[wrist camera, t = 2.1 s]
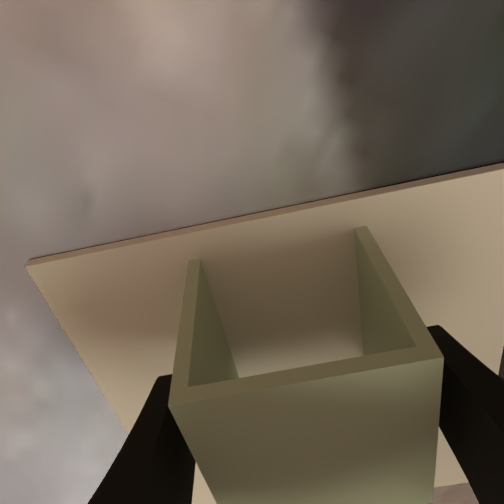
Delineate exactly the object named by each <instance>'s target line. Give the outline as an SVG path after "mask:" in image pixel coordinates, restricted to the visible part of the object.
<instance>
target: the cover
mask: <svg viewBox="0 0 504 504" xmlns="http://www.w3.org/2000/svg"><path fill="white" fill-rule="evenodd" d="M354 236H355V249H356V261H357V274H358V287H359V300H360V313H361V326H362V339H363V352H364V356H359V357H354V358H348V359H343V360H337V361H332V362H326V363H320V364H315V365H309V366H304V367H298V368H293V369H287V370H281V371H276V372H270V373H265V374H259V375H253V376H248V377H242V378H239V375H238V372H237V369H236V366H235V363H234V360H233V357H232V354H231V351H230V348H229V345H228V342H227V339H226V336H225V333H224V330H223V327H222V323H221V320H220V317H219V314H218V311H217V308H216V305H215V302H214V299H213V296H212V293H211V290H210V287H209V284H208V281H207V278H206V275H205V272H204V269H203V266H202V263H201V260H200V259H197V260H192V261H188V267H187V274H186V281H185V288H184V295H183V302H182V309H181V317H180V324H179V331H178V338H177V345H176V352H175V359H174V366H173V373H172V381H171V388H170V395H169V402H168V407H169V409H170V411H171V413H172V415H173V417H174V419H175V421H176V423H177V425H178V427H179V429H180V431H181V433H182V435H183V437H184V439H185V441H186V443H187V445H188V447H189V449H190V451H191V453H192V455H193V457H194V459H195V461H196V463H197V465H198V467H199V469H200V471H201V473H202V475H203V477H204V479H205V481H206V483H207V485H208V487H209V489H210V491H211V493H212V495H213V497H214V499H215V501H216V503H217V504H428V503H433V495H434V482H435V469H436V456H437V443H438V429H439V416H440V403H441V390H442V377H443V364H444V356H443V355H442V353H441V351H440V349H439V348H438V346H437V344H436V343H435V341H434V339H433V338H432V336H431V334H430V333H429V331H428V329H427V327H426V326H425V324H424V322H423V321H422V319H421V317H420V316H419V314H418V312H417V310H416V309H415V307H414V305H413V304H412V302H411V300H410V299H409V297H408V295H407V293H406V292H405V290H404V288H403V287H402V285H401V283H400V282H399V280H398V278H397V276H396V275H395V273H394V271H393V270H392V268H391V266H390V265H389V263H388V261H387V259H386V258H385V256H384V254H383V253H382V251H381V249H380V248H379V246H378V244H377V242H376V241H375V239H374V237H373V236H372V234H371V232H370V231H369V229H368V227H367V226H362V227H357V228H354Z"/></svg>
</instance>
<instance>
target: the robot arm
mask: <svg viewBox="0 0 504 504" xmlns="http://www.w3.org/2000/svg"><path fill="white" fill-rule="evenodd" d="M427 329H428V331H429V333H430V334H431V336H432V338H433V339H434V341H435V343H436V344H437V346H438V348H439V349H440V351H441V353H442V355H443V356H444V364H443V377H442V390H441V403H440V416H439V428H440V429H441V431H442V433H443V435H444V437H445V439H446V441H447V442H448V444H449V446H450V448H451V450H452V452H453V454H454V455H455V457H456V459H457V461H458V463H459V465H460V467H461V468H462V470H463V472H464V474H465V476H466V478H467V480H468V481H469V483H470V485H471V487H472V489H473V491H474V494H475V496H476V498H477V500H478V502H479V504H504V380H503V379H502V378H501V377H499V376H498V375H497V374H496V373H494V372H493V371H492V370H491V369H489V368H488V367H487V366H486V365H485V364H483V363H482V362H481V361H480V360H479V359H477V358H476V357H475V356H474V355H473V354H472V353H471V352H469V351H468V350H467V349H466V348H465V347H464V346H463V345H461V344H460V343H459V342H458V341H457V340H456V339H455V338H454V337H452V336H451V335H450V334H449V333H448V332H447V331H446V330H445V329H444V328H443V327H441V326H440V325H434V326H428V327H427ZM171 381H172V374H169V375H163V376H158V378H157V379H156V381H155V383H154V385H153V387H152V389H151V391H150V394H149V396H148V398H147V400H146V402H145V404H144V406H143V408H142V410H141V412H140V414H139V416H138V418H137V420H136V422H135V424H134V426H133V428H132V429H131V431H130V433H129V435H128V437H127V439H126V441H125V443H124V445H123V446H122V448H121V450H120V452H119V453H118V455H117V457H116V459H115V460H114V462H113V464H112V465H111V467H110V469H109V470H108V472H107V474H106V476H105V477H104V479H103V480H102V482H101V484H100V485H99V487H98V488H97V490H96V492H95V493H94V495H93V496H92V498H91V499H90V501H89V502H88V504H192V495H193V485H194V475H195V464H196V461H195V459H194V457H193V455H192V453H191V451H190V449H189V447H188V445H187V443H186V441H185V439H184V437H183V435H182V433H181V431H180V429H179V427H178V425H177V423H176V421H175V419H174V417H173V415H172V413H171V411H170V409H169V407H168V402H169V395H170V388H171Z"/></svg>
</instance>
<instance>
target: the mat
mask: <svg viewBox="0 0 504 504" xmlns="http://www.w3.org/2000/svg"><path fill="white" fill-rule="evenodd" d="M362 226H367V227H368V229H369V231H370V232H371V234H372V236H373V237H374V239H375V241H376V242H377V244H378V246H379V248H380V249H381V251H382V253H383V254H384V256H385V258H386V259H387V261H388V263H389V265H390V266H391V268H392V270H393V271H394V273H395V275H396V276H397V278H398V280H399V282H400V283H401V285H402V287H403V288H404V290H405V292H406V293H407V295H408V297H409V299H410V300H411V302H412V304H413V305H414V307H415V309H416V310H417V312H418V314H419V316H420V317H421V319H422V321H423V322H424V324H425V326H426V327H428V326H434V325H440V326H441V327H443V328H444V329H445V330H446V331H447V332H448V333H449V334H450V335H451V336H452V337H454V338H455V339H456V340H457V341H458V342H459V343H460V344H461V345H463V346H464V347H465V348H466V349H467V350H468V351H469V352H471V353H472V354H473V355H474V356H475V357H476V358H477V359H479V360H480V361H481V362H482V363H483V364H485V365H486V366H487V367H488V368H489V369H491V370H492V371H493V372H494V373H496V374H497V375H498V373H499V368H500V362H501V357H502V351H503V346H504V163H499V164H494V165H490V166H485V167H480V168H475V169H470V170H465V171H460V172H455V173H451V174H446V175H441V176H436V177H431V178H426V179H421V180H416V181H412V182H407V183H402V184H397V185H392V186H387V187H382V188H377V189H373V190H368V191H363V192H358V193H353V194H348V195H343V196H338V197H334V198H329V199H324V200H319V201H314V202H309V203H304V204H300V205H295V206H290V207H285V208H280V209H275V210H270V211H265V212H261V213H256V214H251V215H246V216H241V217H236V218H231V219H226V220H222V221H217V222H212V223H207V224H202V225H197V226H192V227H187V228H183V229H178V230H173V231H168V232H163V233H158V234H153V235H148V236H144V237H139V238H134V239H129V240H124V241H119V242H114V243H109V244H105V245H100V246H95V247H90V248H85V249H80V250H75V251H70V252H66V253H61V254H56V255H51V256H46V257H41V258H36V259H32V260H29V262H28V263H27V264H26V266H25V268H26V270H27V271H28V273H29V275H30V276H31V278H32V279H33V281H34V283H35V284H36V286H37V288H38V289H39V291H40V292H41V294H42V296H43V297H44V299H45V300H46V302H47V304H48V305H49V307H50V308H51V310H52V312H53V313H54V315H55V317H56V318H57V320H58V321H59V323H60V325H61V326H62V328H63V329H64V331H65V333H66V334H67V336H68V338H69V339H70V341H71V342H72V344H73V346H74V347H75V349H76V350H77V352H78V354H79V355H80V357H81V359H82V360H83V362H84V363H85V365H86V367H87V368H88V370H89V371H90V373H91V375H92V376H93V378H94V380H95V381H96V383H97V384H98V386H99V388H100V389H101V391H102V392H103V394H104V396H105V397H106V399H107V401H108V402H109V404H110V405H111V407H112V409H113V410H114V412H115V413H116V415H117V417H118V418H119V420H120V422H121V423H122V425H123V426H124V428H125V430H126V431H127V433H128V434H129V433H130V431H131V429H132V428H133V426H134V424H135V422H136V420H137V418H138V416H139V414H140V412H141V410H142V408H143V406H144V404H145V402H146V400H147V398H148V396H149V394H150V391H151V389H152V387H153V385H154V383H155V381H156V379H157V378H158V376H163V375H169V374H172V373H173V366H174V359H175V352H176V345H177V338H178V331H179V324H180V317H181V309H182V302H183V295H184V288H185V281H186V274H187V267H188V261H192V260H197V259H200V260H201V263H202V266H203V269H204V272H205V275H206V278H207V281H208V284H209V287H210V290H211V293H212V296H213V299H214V302H215V305H216V308H217V311H218V314H219V317H220V320H221V323H222V327H223V330H224V333H225V336H226V339H227V342H228V345H229V348H230V351H231V354H232V357H233V360H234V363H235V366H236V369H237V372H238V375H239V378H242V377H248V376H253V375H259V374H265V373H270V372H276V371H281V370H287V369H293V368H298V367H304V366H309V365H315V364H320V363H326V362H332V361H337V360H343V359H348V358H354V357H359V356H364V352H363V339H362V326H361V313H360V300H359V287H358V274H357V261H356V249H355V236H354V228H357V227H362ZM467 482H469V481H468V480H467V478H466V476H465V474H464V472H463V470H462V468H461V467H460V465H459V463H458V461H457V459H456V457H455V455H454V454H453V452H452V450H451V448H450V446H449V444H448V442H447V441H446V439H445V437H444V435H443V433H442V431H441V429H440V428H439V429H438V443H437V456H436V469H435V482H434V488H435V487H442V486H448V485H455V484H461V483H467ZM192 504H217V503H216V501H215V499H214V497H213V495H212V493H211V491H210V489H209V487H208V485H207V483H206V481H205V479H204V477H203V475H202V473H201V471H200V469H199V467H198V465H197V463H196V464H195V475H194V485H193V495H192Z"/></svg>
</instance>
